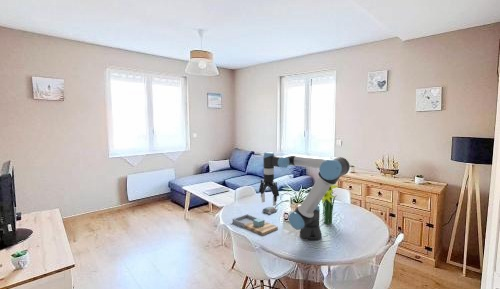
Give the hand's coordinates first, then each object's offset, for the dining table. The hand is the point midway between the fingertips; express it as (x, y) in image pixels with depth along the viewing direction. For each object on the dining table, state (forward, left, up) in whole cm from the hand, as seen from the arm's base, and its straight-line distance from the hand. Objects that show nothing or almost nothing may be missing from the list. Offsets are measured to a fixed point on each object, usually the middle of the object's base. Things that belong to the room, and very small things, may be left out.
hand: (268, 203), depth 193 cm
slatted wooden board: (+8, 0, -21) cm, 22 cm away
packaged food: (+24, -27, -22) cm, 42 cm away
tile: (+10, 0, -19) cm, 21 cm away
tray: (+25, 0, -21) cm, 32 cm away
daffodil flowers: (-23, -43, -21) cm, 53 cm away
